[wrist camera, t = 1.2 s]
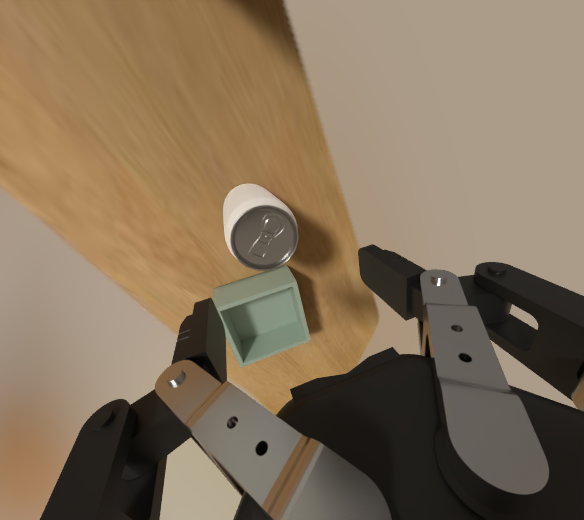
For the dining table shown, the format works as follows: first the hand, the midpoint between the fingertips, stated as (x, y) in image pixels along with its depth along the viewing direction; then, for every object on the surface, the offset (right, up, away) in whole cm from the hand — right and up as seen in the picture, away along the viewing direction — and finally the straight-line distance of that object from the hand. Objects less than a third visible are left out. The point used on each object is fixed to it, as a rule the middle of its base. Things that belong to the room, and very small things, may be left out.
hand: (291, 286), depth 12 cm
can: (-5, +8, +18) cm, 20 cm away
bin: (-5, -6, +24) cm, 25 cm away
